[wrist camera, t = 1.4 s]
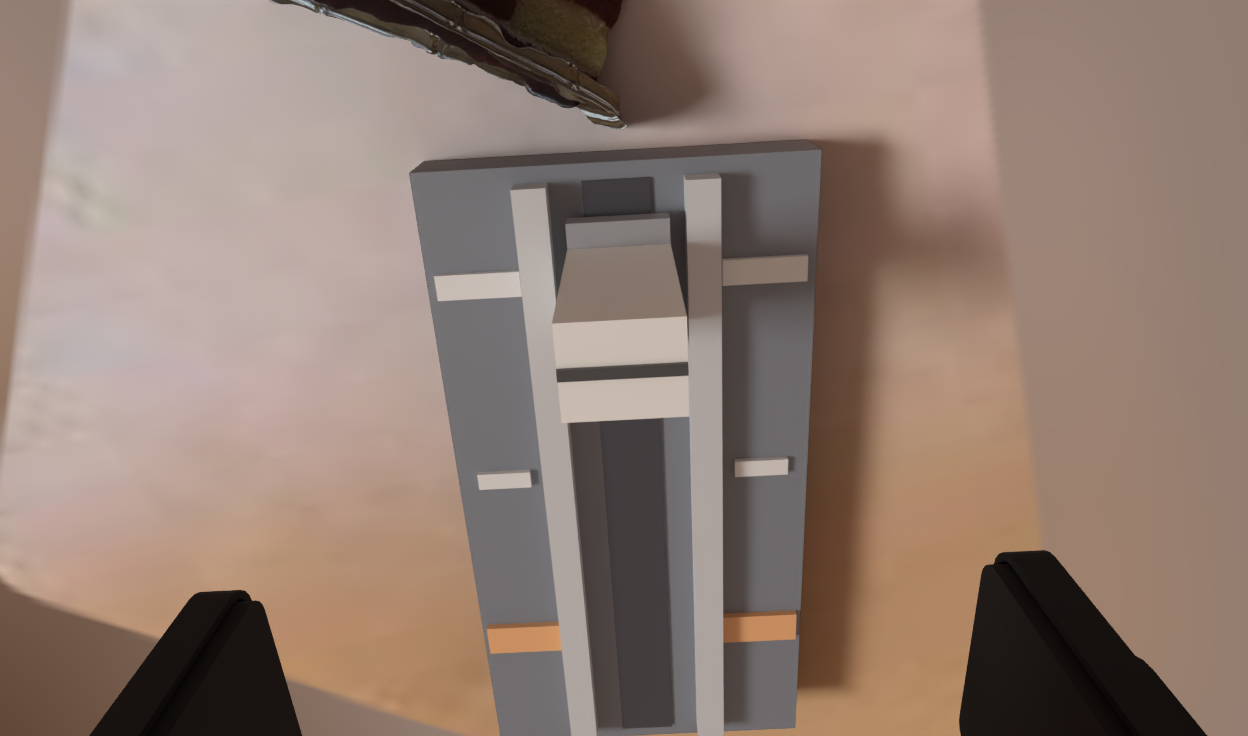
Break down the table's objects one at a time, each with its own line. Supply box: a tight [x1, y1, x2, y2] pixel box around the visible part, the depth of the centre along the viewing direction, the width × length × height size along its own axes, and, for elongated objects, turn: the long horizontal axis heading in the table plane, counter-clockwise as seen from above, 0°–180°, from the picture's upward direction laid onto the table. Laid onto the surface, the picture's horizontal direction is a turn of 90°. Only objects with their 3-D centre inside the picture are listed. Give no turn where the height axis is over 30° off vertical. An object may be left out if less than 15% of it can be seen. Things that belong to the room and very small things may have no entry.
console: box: [409, 139, 822, 736], centre depth 28 cm, size 23×12×3 cm, turn 4°
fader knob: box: [552, 213, 689, 423], centre depth 21 cm, size 4×3×7 cm
